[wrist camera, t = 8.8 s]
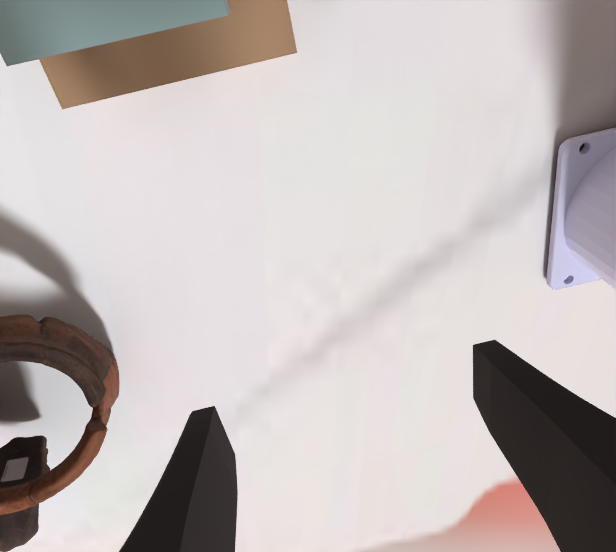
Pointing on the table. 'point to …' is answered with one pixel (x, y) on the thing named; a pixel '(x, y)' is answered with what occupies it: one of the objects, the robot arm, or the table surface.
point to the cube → (91, 23)
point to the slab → (173, 53)
